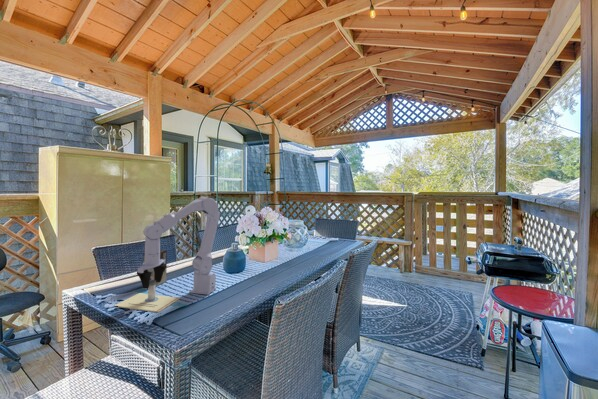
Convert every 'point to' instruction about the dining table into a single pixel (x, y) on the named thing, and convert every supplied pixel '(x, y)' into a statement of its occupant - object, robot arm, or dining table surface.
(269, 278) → the dining table surface
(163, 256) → the coffee box
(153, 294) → the marker
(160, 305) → the writing pad
